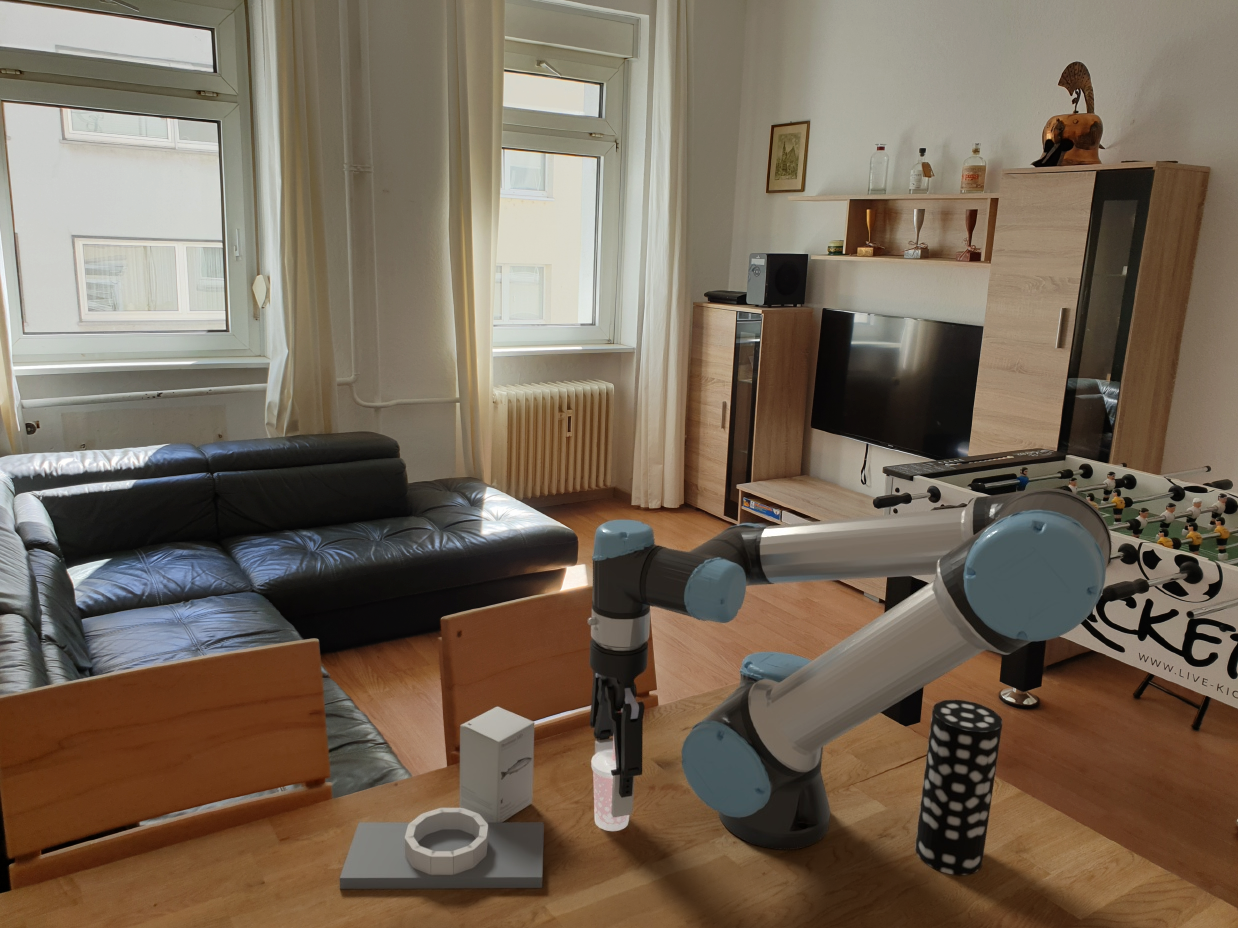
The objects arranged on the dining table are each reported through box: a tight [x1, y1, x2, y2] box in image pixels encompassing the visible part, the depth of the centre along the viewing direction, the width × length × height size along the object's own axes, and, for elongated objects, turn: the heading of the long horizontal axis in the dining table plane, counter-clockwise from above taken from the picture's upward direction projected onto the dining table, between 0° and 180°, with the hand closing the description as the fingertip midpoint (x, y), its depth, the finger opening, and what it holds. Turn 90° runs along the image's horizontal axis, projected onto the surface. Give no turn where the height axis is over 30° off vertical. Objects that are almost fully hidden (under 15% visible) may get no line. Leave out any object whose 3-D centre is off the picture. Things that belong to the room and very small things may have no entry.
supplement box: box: [459, 706, 535, 822], centre depth 129 cm, size 7×7×13 cm
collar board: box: [339, 807, 545, 890], centre depth 118 cm, size 24×11×4 cm, turn 93°
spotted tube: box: [914, 699, 1004, 876], centre depth 121 cm, size 8×8×20 cm
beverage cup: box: [590, 734, 630, 832], centre depth 126 cm, size 6×6×14 cm
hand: (612, 797), depth 127 cm, fingers open, 7 cm apart
